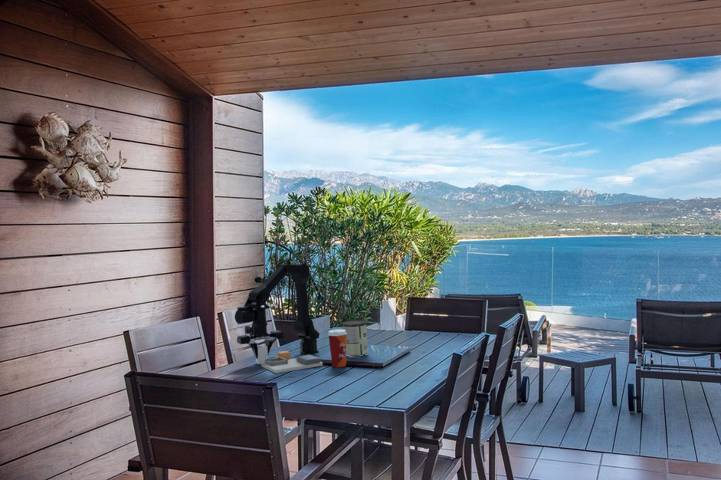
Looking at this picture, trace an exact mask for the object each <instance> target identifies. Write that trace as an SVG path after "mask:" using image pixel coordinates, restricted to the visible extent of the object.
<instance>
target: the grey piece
mask: <svg viewBox="0 0 721 480" xmlns="http://www.w3.org/2000/svg"><path fill="white" fill-rule="evenodd" d="M296 358H297V362H300V363H302V364H305V365H311V364H317V363H320V362H321V358H320V357H317V356H314V355H313V354H303V355H299V356H296Z"/></svg>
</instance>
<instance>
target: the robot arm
mask: <svg viewBox="0 0 721 480" xmlns="http://www.w3.org/2000/svg"><path fill="white" fill-rule="evenodd" d="M288 274H290V277H291V280H292V282H293V284H295V287H294V288H295V295H296V309H297V317H296V320H293V330H294V331H295V334H296V335H297V338H298V339H300V343H299V347H300V349H299V350H300V351H299V352H300V353H302V354H303V355H311V354H313V353H314V354H316V353H319V350H318V343H317V342H318V339H320V332H318V331H317V329H315V326H314V321H313V319H312V318H311V317H310V311H309V310H310V309H309V302H308V301H309V300H308V298H309V297H308V296H309V295H308V286H307V283H308V281H309V278H310V266H309V265H307V263H293V264H288V263H281V264H278V266H277V268H276V269H275V270H274V271H273V272H272V273H271V274H270V276H269V277H268V278H267V279H265V281H264V282H263V283H262V284H261V285H259V286H256V287H255V288H253V289H252V290H251V291H250V292H249V293H248V297H247V300H246V302H245V303H244V305H243V307H242V306H237V308H236V311H235V314H234V320H235V323H236V324H237V325H242V324H243V325H244V324H248V323H251V326H250V325H245V326H244V334H242V335H238V336H237V337H236V343H237V344H239V345H249V346H250V348H251V350H252V351H253V352H252V353H253V354H254V358H255V360H256V359H258V351H257V346H258V343H257V342H256V341H261V340H264V345H266V346H267V350H268V355H270V351H271V348H272V346H273V344H274V343H275V342H276V340H283V339H285V337H284V336H285V335H284V333H283V331H281V330H272V331H270V332H268V327H267V326H268V322H267V310H268V309H270V308H271V306H270V305H269V304H267V301H268V300H269V299H270V297H271V295H272V292H273V290H274V289H275V288H276V287H277V285H279V283H280V282H281V281H282V280H284V279H285V277H286V275H288Z"/></svg>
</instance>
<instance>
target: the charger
mask: <svg viewBox="0 0 721 480" xmlns="http://www.w3.org/2000/svg"><path fill="white" fill-rule="evenodd" d="M257 351H258V359H256V358H255V364H257V365H262V363H265V360H266V359H269V354H268V350H267V346H266V345H265V344H261V345H257Z"/></svg>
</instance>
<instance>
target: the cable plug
mask: <svg viewBox="0 0 721 480" xmlns="http://www.w3.org/2000/svg"><path fill="white" fill-rule="evenodd" d="M276 353H277V354H276V355H275V356H274V358H279V357H282V358H285V359H287V360H288V359H291V352H290V351H288V350H283V351H282V350H281V351H277V352H276Z"/></svg>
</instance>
